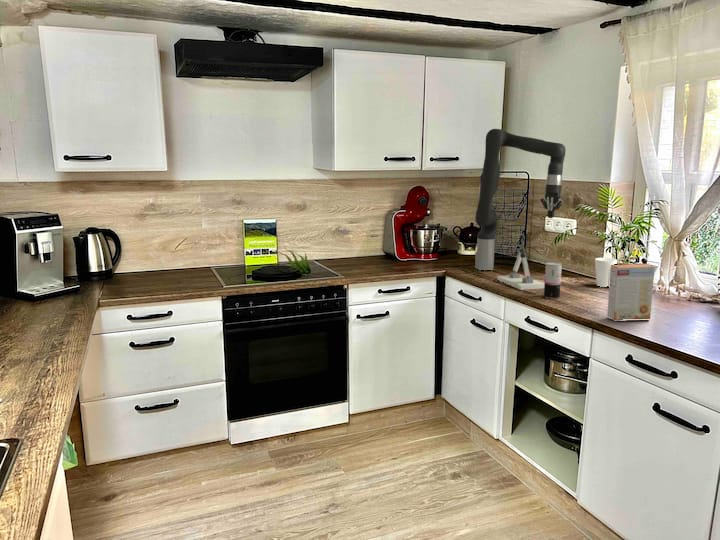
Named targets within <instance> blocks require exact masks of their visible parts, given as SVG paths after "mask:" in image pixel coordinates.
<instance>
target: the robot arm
mask: <svg viewBox="0 0 720 540" xmlns="http://www.w3.org/2000/svg"><path fill="white" fill-rule="evenodd" d="M502 147H508V148H514V149H519V150H521V151H525V152H528V153H532V154H538V155H543V156H547V157H550V159H549V160H550V161H549V164H548V166H547V175H546V181H545V189H544V191H545V195H544V197H543V198H540V202H541V203H542V205H543V208H544V209H545V210H547V215H546V216H547V218H548V219H553V218H554V217H555V211H556V210H557V211H558V210H559V209H560V208H561V207H562V206H563V204H564V203H565V200H562V198H561V193H562V187H563V185H562V184H563V171H564V170H563V169H564V162H565V156H566V146H565V145H564V144H563V143H561V142H560V143H559V142H554V141H553V142H552V141H545V140H543V139H539V138H534V137H528V136H522V135H521V136H520V135H516V134H513V133H510V132H508V131H505V130H502V129H500V128H492V129H490V130H489V131H488V132H487V133H486V136H485V152H484V153H485V154H484V160H483V165H482V173H481V174H482V175H481V181H480V190H479V197H478V203H477V206H476V207H477V208H476V211H475V216H474V217H475V222H476V225H478V226H479V227H481V228H480V230H479V231H478V232H477V237H476V238H477V240H476V241H477V242H476V243H477V244H476V251H475V253H474V254H475V256H474V257H475V258H474V259H475V262H474V269H475V268H476V269H475V270H477V269H478V270H477V271H481V270H484V271H483V272H486V271H485V270H491V271H493V270H494V264H495V263H494V261H495V242H496V241H495V239H496V238H495V237H496V234H497V230H498V229H497V228H498V215H497V212H496V210H494V209H493V208H491V205H492V201H493V198H494V197H495V195H496V193H497V190H498V188H499V184H500V179H501V178H500V176H501V166H500V151H501V148H502Z"/></svg>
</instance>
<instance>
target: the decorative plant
mask: <svg viewBox="0 0 720 540" xmlns="http://www.w3.org/2000/svg"><path fill="white" fill-rule="evenodd" d="M283 247H284V249H285V250H286V251H288V252H289V253H290V254H291V255H292V257H293V258H294V259H293V260H294V261H293V260H292V259H291V257H289V255H287V254H285V253H281V252H279V251H277V250H274V249H272V250H273V252H276V253H278V254H280V255H283V256H285V257H286V259H287V260H288V262H289V264H290V265H291V266H290V268H291V269H292V268H296V269H298V270H299V271H300V272H301V275H302V274H307V275H309V274H312V273H311V272H312V269H311V267H310V263H309V261H308V255H307V253H306V252H304V257H303V255H300V254H297V253H296V251H295V252H294V251H293V249H291V250H289V249H287V248H286V246H285V245H284V244H283ZM302 251H304V249H302ZM297 256H298V257H299V258H300V261H301V262H300V261H299V260H298V258H297Z"/></svg>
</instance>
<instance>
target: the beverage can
mask: <svg viewBox="0 0 720 540" xmlns="http://www.w3.org/2000/svg"><path fill="white" fill-rule="evenodd" d="M544 270H545V271H544V283H545V286H544V288H543V289H544V290H543V296H544V298H546V299H549V298H550V299H551V300H556V299H555V298H557V299H559V298H560V297H561V284H562V283H561V282H562V281H561V279H562V263H560V262H554V261H553V262H546V263H545V269H544Z"/></svg>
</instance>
